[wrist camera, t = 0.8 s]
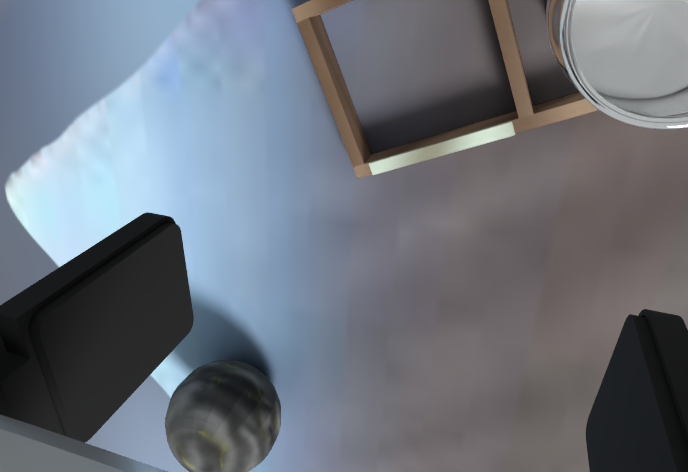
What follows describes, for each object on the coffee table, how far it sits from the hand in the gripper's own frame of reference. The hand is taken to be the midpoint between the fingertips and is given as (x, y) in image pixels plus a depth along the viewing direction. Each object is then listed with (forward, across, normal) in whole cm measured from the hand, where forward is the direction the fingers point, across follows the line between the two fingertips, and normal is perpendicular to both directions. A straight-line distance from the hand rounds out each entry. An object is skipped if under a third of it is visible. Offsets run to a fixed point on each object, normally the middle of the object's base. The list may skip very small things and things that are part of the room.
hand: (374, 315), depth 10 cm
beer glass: (+24, -6, -5) cm, 25 cm away
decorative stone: (+24, +17, +30) cm, 42 cm away
